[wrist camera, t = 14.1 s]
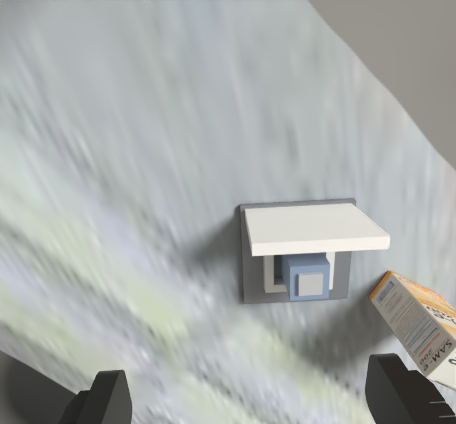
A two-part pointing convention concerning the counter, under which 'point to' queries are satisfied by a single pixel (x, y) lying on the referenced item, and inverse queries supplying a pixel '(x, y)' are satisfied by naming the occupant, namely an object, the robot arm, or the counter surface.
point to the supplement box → (420, 325)
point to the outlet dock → (302, 243)
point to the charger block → (305, 275)
